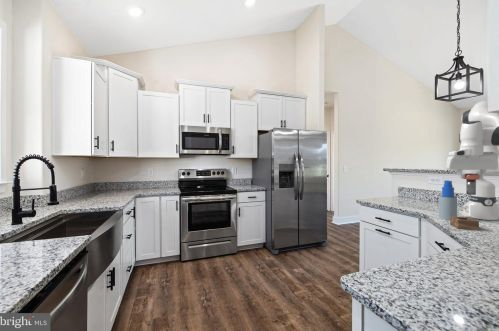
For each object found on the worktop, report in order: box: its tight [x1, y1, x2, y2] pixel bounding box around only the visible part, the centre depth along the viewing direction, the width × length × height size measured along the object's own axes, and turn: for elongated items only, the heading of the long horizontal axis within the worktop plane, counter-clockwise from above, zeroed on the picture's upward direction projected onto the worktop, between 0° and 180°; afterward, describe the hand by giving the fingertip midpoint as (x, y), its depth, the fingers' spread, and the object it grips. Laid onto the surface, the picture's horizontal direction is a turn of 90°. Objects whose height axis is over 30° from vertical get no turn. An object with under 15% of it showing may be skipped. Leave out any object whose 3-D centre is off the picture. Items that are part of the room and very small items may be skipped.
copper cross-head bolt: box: [463, 173, 479, 196], centre depth 118 cm, size 6×6×11 cm
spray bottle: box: [438, 179, 458, 221], centre depth 147 cm, size 9×9×25 cm
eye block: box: [449, 216, 480, 231], centre depth 129 cm, size 9×9×5 cm
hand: (471, 178), depth 118 cm, fingers closed on copper cross-head bolt, 6 cm apart
